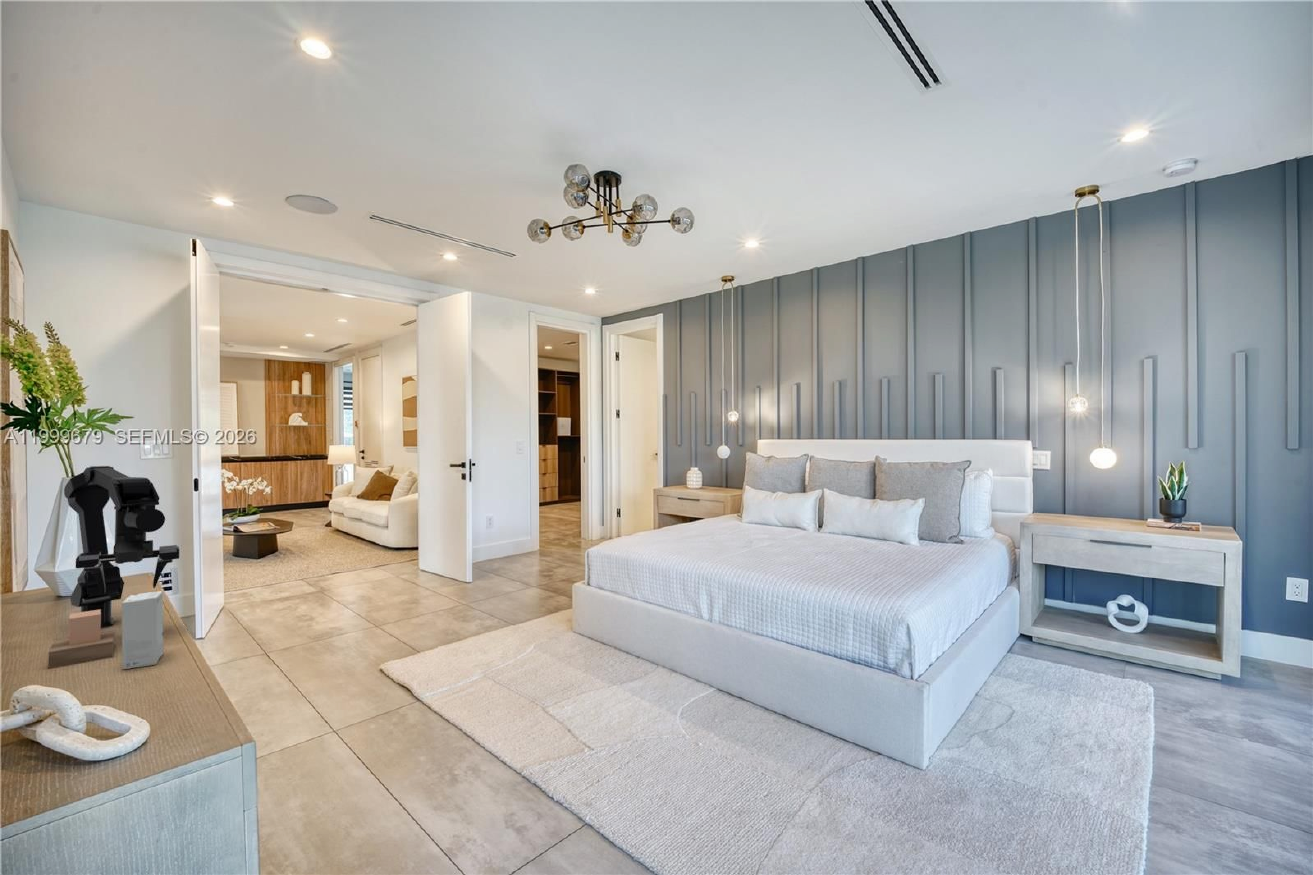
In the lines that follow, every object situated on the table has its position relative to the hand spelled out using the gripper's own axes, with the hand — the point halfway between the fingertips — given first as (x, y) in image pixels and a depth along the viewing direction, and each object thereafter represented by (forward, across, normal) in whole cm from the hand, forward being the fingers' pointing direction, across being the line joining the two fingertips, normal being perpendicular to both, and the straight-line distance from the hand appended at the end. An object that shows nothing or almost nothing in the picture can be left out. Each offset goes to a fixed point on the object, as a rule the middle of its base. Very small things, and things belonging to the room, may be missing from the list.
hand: (129, 590), depth 140 cm
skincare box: (+12, +3, -22) cm, 26 cm away
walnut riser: (+12, -7, -10) cm, 17 cm away
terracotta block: (+8, -7, -10) cm, 14 cm away
